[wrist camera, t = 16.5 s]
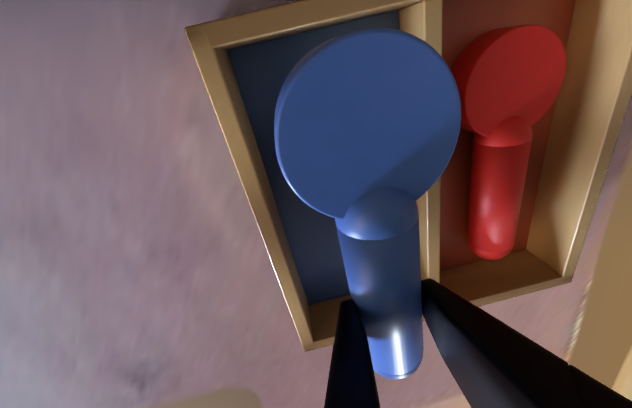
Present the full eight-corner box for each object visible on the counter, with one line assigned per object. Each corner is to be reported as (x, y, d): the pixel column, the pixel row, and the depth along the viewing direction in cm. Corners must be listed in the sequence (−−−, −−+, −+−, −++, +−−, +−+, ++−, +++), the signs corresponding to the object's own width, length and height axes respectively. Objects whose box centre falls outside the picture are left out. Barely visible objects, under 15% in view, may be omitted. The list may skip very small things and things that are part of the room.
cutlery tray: (524, 247, 17) (571, 282, 14) (299, 305, 16) (304, 352, 14) (584, -54, 10) (694, -94, 7) (207, 35, 10) (182, 27, 7)
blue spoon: (431, 323, 11) (462, 375, 9) (335, 349, 11) (347, 406, 9) (427, 14, 6) (493, -4, 4) (252, 56, 6) (243, 56, 4)
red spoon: (508, 234, 15) (539, 257, 13) (441, 252, 15) (464, 277, 13) (542, 17, 10) (598, 8, 9) (444, 41, 10) (480, 37, 8)
